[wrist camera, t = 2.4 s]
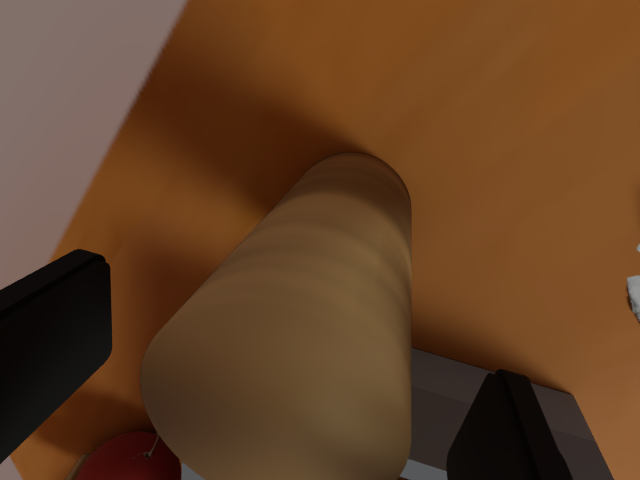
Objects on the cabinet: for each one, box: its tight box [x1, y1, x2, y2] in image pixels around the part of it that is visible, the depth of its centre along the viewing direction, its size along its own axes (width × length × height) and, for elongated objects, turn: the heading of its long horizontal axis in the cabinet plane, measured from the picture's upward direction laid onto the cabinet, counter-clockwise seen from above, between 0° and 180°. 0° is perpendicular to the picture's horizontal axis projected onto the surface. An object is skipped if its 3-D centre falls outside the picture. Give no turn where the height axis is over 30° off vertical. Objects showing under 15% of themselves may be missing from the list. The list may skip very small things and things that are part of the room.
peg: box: [140, 152, 411, 480], centre depth 12 cm, size 5×5×11 cm
